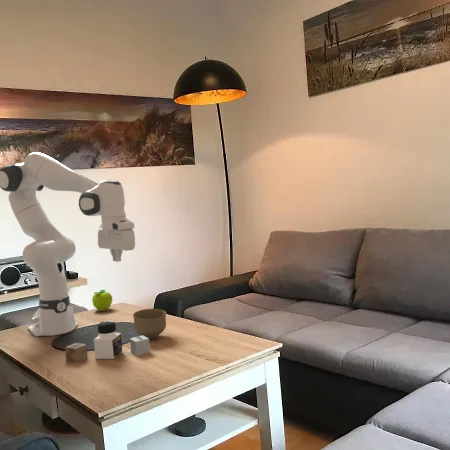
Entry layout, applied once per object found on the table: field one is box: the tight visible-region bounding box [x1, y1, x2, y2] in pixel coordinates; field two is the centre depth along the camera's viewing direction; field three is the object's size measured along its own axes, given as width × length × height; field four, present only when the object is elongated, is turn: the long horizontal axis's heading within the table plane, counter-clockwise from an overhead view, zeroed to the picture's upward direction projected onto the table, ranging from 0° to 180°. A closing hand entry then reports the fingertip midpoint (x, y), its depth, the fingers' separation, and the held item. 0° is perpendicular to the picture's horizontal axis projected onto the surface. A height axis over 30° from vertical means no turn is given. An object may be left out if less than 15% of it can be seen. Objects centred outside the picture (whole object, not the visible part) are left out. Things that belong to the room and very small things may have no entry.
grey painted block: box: [129, 335, 151, 356], centre depth 174 cm, size 5×5×5 cm
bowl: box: [132, 308, 167, 340], centre depth 189 cm, size 13×13×10 cm
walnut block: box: [64, 342, 89, 364], centre depth 170 cm, size 5×5×5 cm
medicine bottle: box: [93, 320, 123, 360], centre depth 172 cm, size 7×7×12 cm
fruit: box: [91, 289, 113, 312], centre depth 238 cm, size 9×9×10 cm
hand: (117, 261), depth 183 cm, fingers closed
